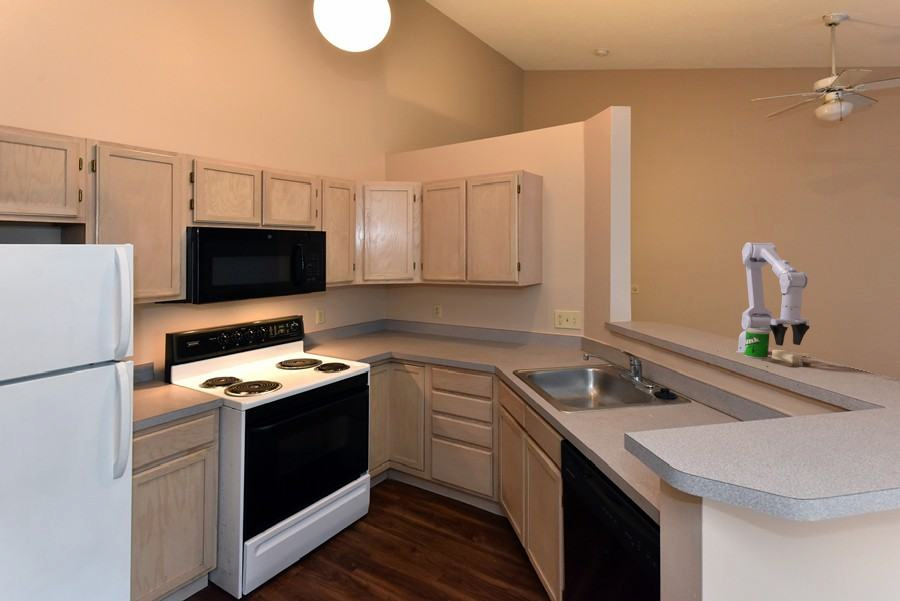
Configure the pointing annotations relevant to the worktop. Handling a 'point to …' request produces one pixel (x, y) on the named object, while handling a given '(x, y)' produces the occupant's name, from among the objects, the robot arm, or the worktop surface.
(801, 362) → the cradle
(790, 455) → the worktop surface
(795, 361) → the birch bar
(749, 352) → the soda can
